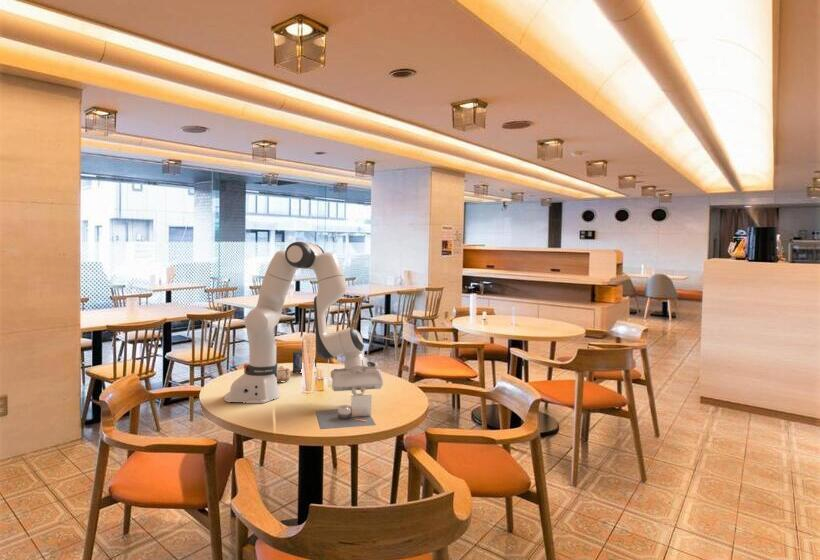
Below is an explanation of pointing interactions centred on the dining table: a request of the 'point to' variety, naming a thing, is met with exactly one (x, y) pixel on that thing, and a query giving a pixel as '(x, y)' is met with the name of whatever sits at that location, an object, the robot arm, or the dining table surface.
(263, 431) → the dining table surface
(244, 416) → the dining table surface
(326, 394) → the dining table surface
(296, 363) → the small box
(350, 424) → the base plate
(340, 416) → the grey block with knob
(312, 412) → the dining table surface
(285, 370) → the trinket box
